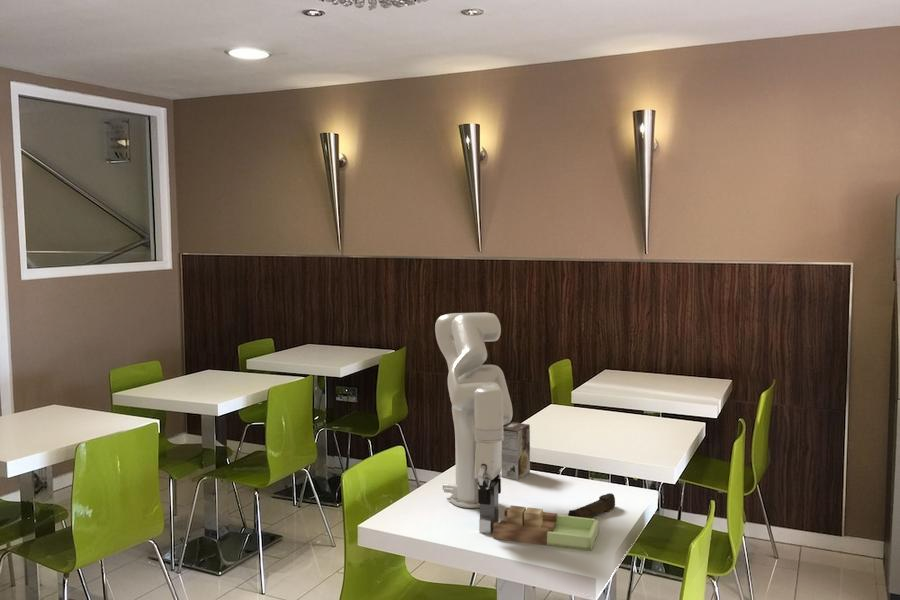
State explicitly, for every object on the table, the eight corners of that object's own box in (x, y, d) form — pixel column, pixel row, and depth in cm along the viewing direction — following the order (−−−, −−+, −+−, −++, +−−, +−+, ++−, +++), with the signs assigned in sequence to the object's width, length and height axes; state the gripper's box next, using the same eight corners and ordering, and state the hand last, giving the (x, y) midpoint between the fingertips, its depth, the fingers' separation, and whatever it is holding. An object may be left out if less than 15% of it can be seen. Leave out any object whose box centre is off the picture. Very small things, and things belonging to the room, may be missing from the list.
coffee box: (512, 469, 254) (512, 421, 253) (530, 472, 251) (530, 424, 250) (500, 477, 246) (500, 427, 245) (518, 480, 243) (518, 430, 242)
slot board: (493, 538, 197) (493, 524, 196) (506, 520, 209) (506, 507, 209) (547, 545, 192) (547, 531, 192) (557, 526, 204) (557, 513, 204)
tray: (547, 545, 192) (547, 532, 192) (557, 526, 204) (557, 514, 204) (591, 550, 189) (591, 538, 188) (598, 531, 201) (598, 519, 201)
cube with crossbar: (477, 532, 201) (477, 487, 200) (486, 521, 208) (486, 478, 207) (492, 534, 199) (492, 489, 198) (500, 523, 207) (500, 479, 206)
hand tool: (578, 527, 204) (578, 510, 204) (567, 522, 208) (567, 506, 207) (622, 510, 217) (622, 494, 216) (611, 506, 220) (611, 490, 219)
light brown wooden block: (524, 527, 199) (524, 512, 198) (527, 522, 202) (527, 507, 202) (539, 529, 197) (539, 514, 197) (542, 523, 201) (542, 508, 201)
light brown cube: (507, 525, 200) (507, 510, 200) (511, 520, 204) (511, 505, 203) (522, 527, 199) (522, 512, 198) (525, 521, 202) (525, 507, 202)
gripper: (484, 426, 211) (485, 487, 212) (465, 440, 195) (466, 507, 195) (511, 428, 208) (511, 490, 209) (493, 442, 192) (494, 509, 193)
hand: (489, 498), depth 202 cm, fingers open, 9 cm apart
